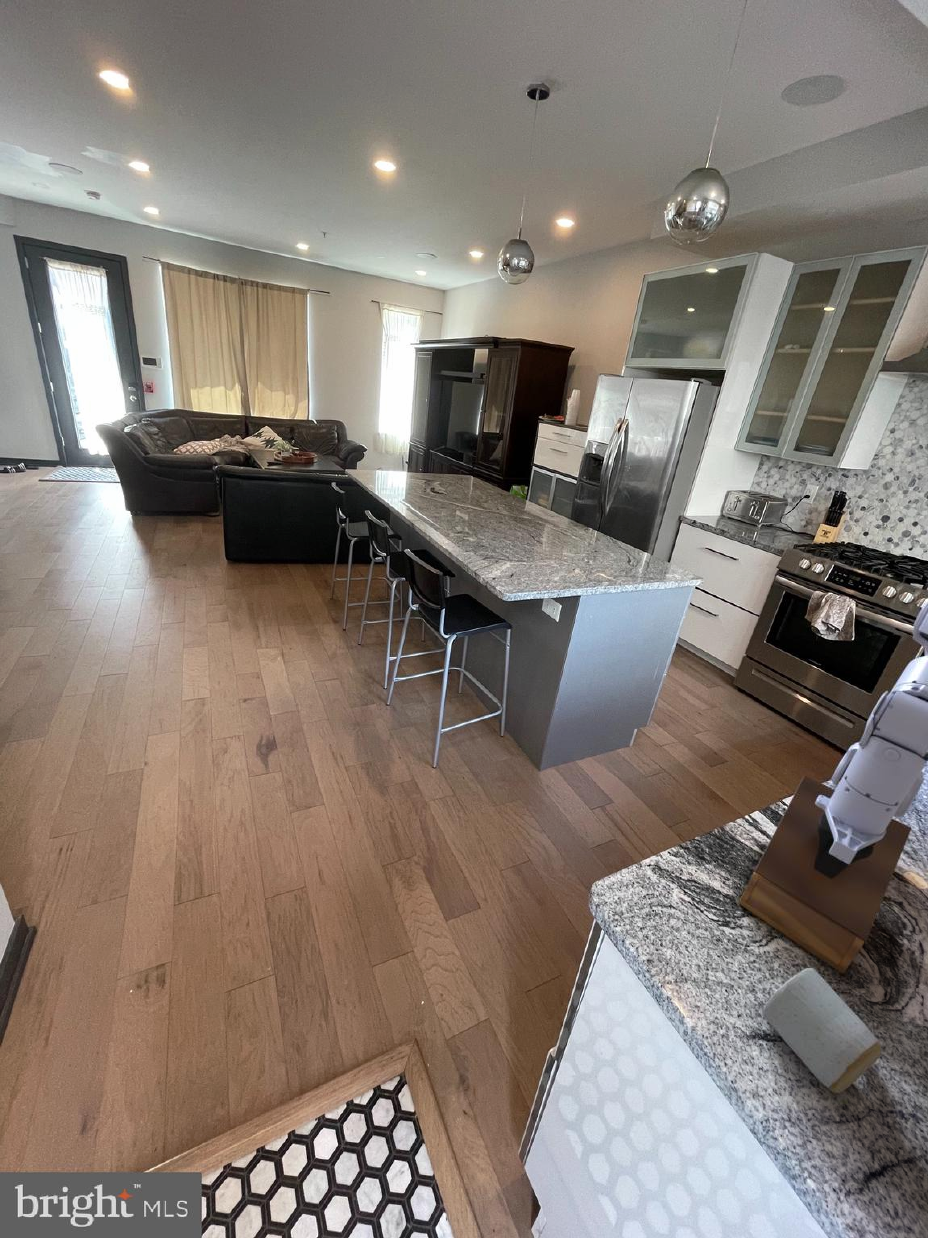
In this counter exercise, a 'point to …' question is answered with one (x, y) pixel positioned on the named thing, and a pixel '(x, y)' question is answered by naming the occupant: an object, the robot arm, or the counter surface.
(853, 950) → the box
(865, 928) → the lid
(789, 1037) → the ceramic mug
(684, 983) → the counter surface
